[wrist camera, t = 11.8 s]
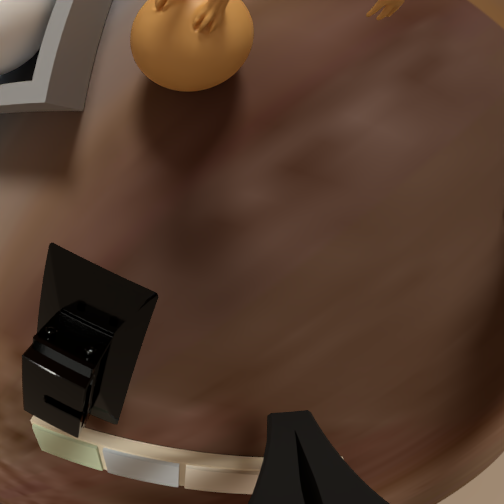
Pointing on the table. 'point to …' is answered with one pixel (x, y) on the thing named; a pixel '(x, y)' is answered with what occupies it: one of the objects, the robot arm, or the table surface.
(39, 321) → the black piece
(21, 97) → the housing
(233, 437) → the table surface
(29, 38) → the white glossy sphere
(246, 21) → the figurine
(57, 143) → the table surface
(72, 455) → the space track
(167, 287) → the table surface
